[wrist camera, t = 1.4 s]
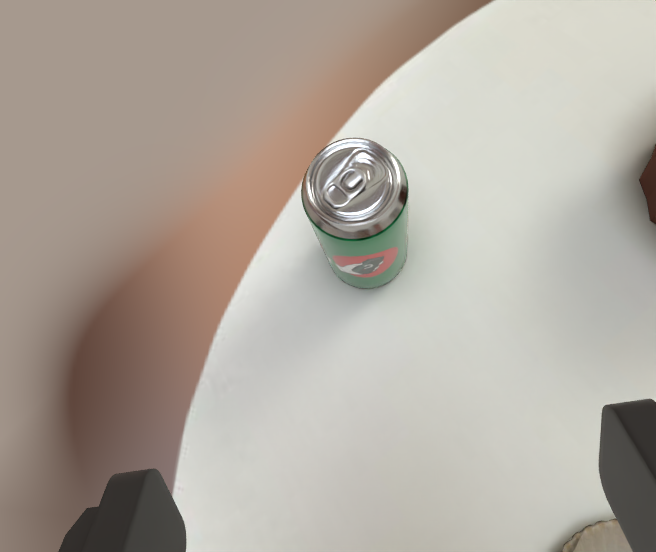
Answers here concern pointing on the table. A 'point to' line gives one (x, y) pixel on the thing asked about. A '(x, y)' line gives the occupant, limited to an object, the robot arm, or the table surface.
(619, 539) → the seashell
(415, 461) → the table surface
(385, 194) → the soda can
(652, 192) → the muffin
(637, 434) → the robot arm
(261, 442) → the table surface
